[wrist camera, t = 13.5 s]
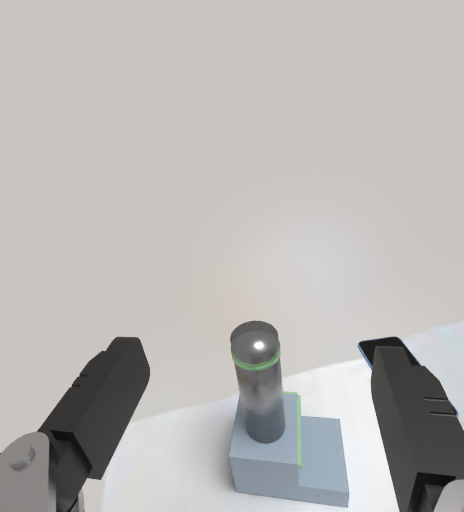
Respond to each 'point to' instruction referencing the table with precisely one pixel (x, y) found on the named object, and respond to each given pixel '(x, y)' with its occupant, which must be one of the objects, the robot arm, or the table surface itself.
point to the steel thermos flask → (259, 379)
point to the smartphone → (369, 346)
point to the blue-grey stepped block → (292, 459)
